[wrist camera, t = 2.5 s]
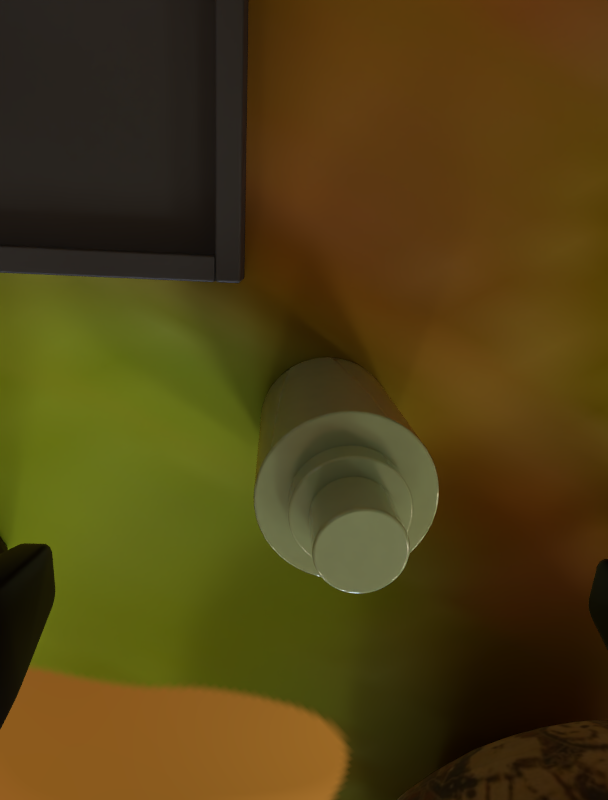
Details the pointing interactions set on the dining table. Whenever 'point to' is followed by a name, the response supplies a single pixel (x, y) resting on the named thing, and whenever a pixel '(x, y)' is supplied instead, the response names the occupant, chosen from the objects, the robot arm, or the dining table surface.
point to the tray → (123, 138)
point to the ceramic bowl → (527, 767)
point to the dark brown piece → (2, 546)
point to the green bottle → (341, 476)
